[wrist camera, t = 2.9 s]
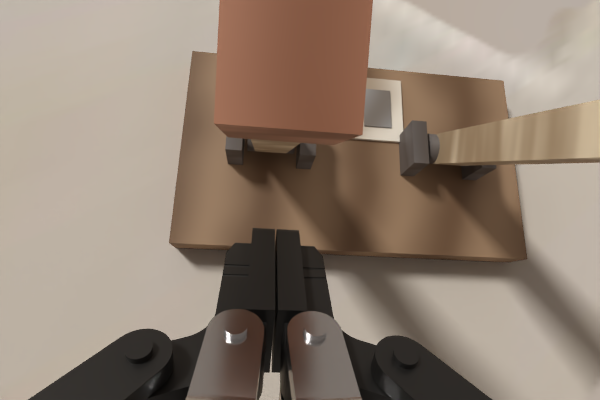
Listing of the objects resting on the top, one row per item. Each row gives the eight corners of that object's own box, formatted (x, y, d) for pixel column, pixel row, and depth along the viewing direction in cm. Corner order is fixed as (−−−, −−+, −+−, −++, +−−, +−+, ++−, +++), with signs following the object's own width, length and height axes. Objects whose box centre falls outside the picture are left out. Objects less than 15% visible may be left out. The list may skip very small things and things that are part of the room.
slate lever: (418, 169, 27) (774, 166, 8) (421, 129, 27) (795, 33, 8) (458, 171, 27) (890, 175, 9) (462, 132, 27) (913, 47, 8)
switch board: (175, 247, 26) (159, 235, 21) (196, 67, 30) (186, 26, 25) (508, 262, 28) (554, 254, 24) (488, 94, 32) (524, 61, 28)
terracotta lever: (247, 157, 26) (208, 123, 7) (250, 115, 26) (215, -36, 7) (291, 160, 26) (367, 135, 7) (294, 119, 26) (378, -17, 7)
